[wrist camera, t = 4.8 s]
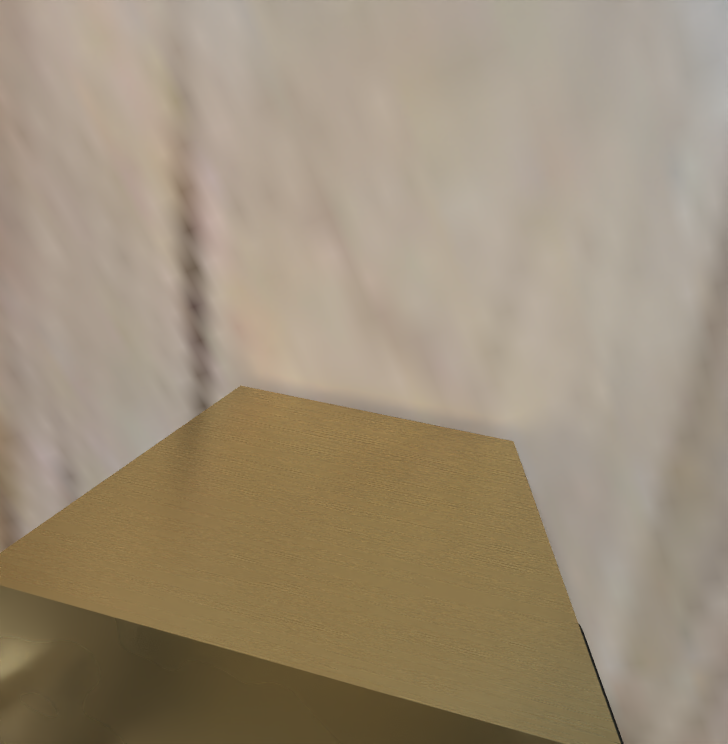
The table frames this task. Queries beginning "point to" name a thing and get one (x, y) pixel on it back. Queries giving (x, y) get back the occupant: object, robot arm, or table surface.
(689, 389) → the table surface
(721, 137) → the table surface
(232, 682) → the block
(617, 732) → the robot arm
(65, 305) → the table surface
